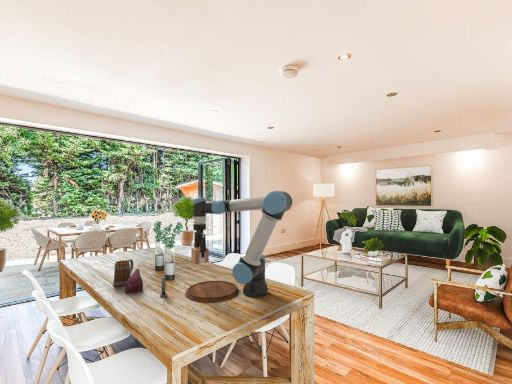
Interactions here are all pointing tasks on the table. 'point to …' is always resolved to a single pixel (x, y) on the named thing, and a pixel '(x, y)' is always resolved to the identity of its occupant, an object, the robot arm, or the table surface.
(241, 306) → the table surface
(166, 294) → the stand
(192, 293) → the cutting board
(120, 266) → the mug
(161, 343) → the table surface
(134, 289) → the vegetable
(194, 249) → the c link
